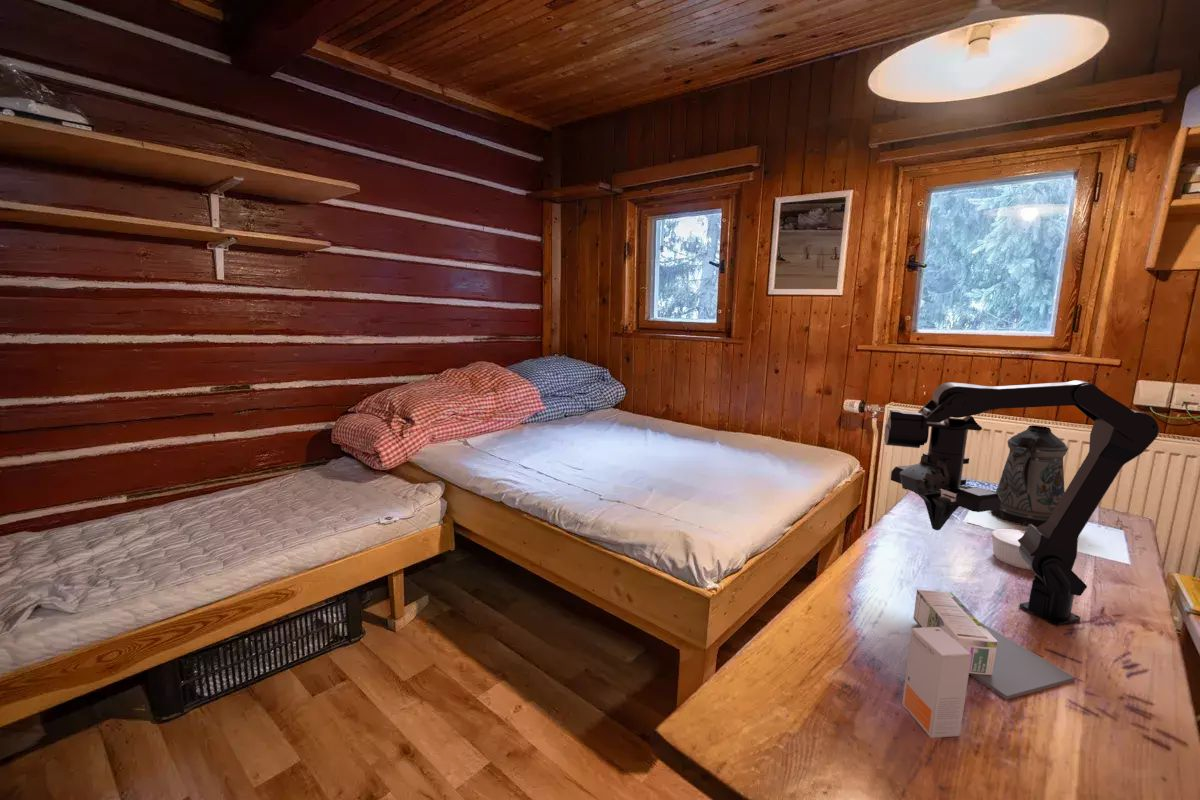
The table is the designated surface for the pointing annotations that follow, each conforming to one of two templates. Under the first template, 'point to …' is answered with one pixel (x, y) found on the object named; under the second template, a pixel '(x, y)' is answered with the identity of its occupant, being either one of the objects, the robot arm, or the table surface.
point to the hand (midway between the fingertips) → (936, 529)
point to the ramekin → (1008, 547)
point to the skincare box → (936, 681)
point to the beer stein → (1032, 477)
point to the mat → (1020, 670)
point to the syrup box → (957, 627)
